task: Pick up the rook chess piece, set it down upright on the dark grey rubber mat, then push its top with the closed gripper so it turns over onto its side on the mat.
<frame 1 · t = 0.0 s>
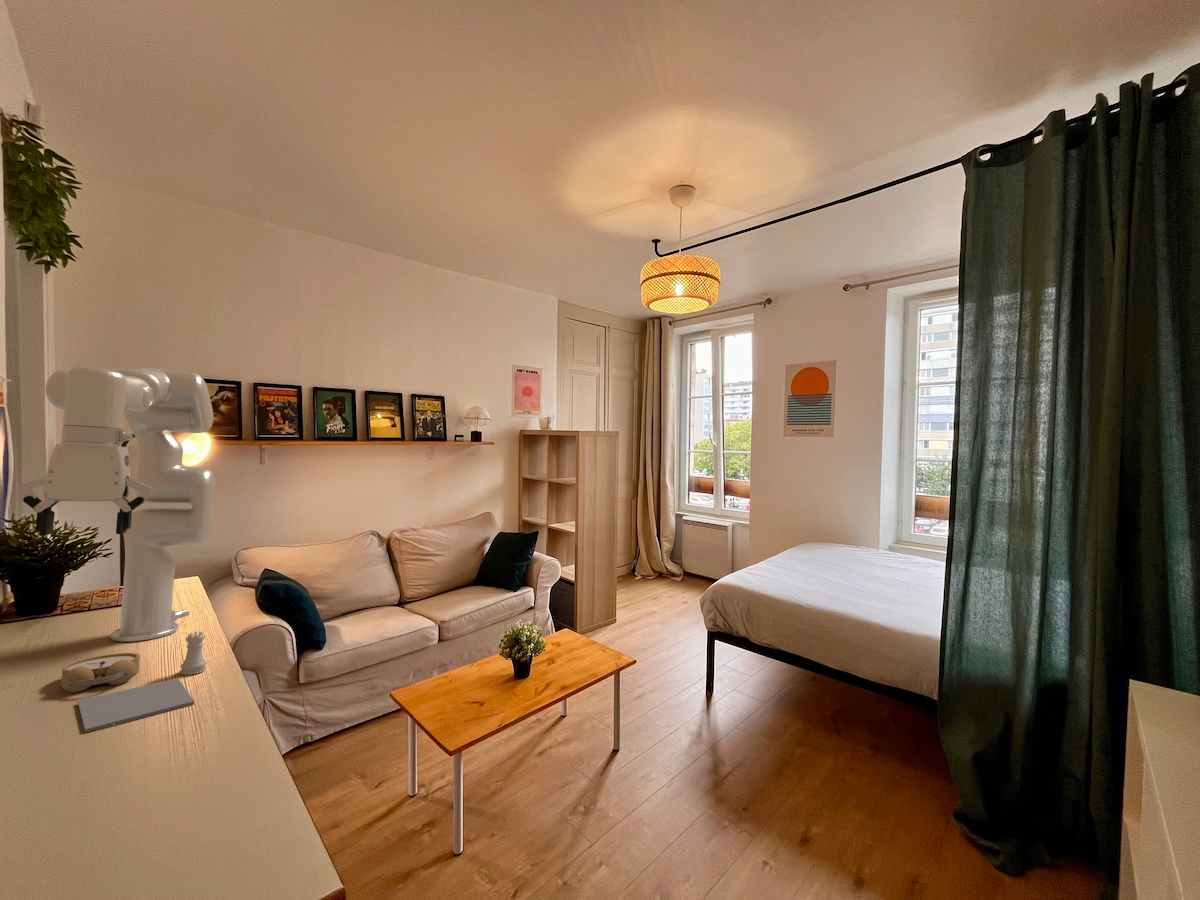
hand: (84, 534, 88), 31 cm above the table, tool pointing down, fingers open, 9 cm apart
alarm clock: (100, 682, 99), on the table
mat: (136, 704, 90), on the table
rook chess piece: (193, 672, 105), on the table
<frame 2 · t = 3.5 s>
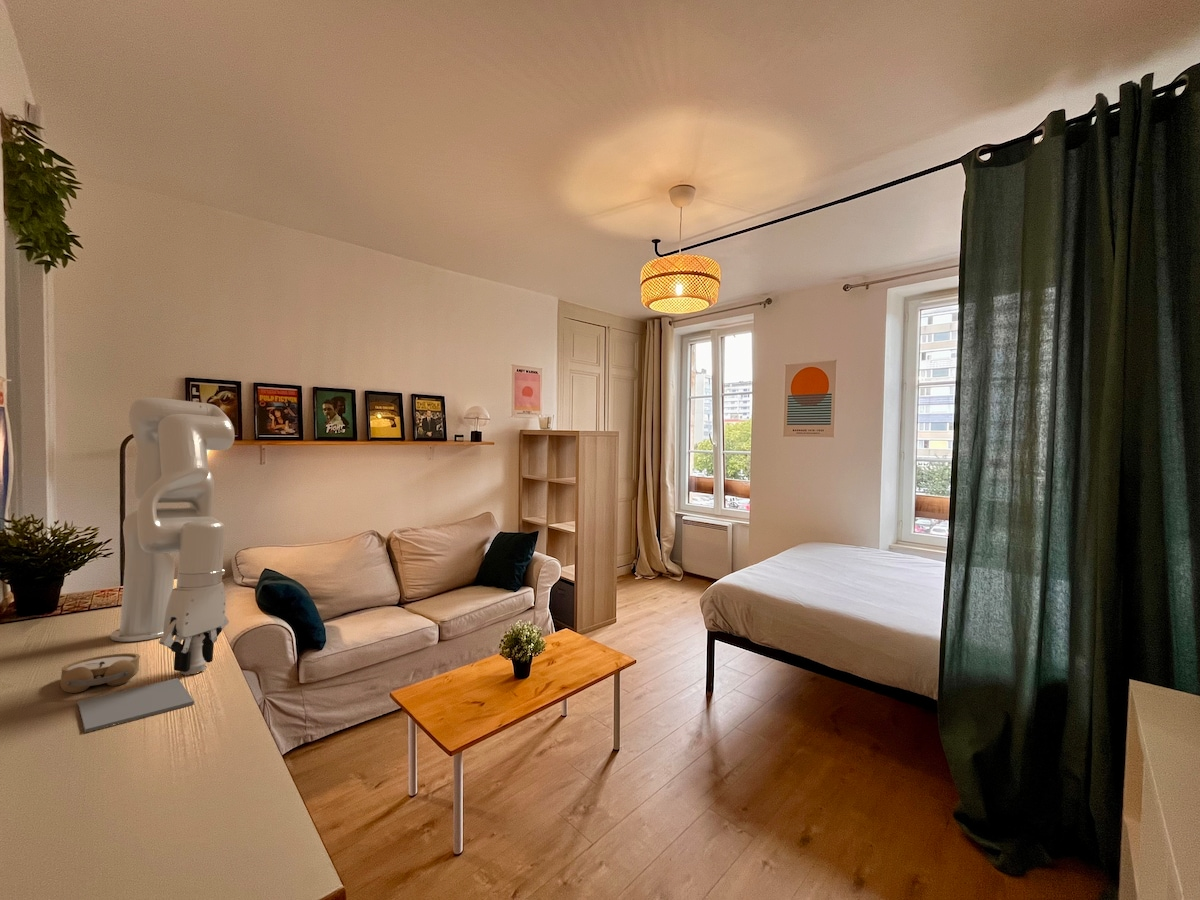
hand: (193, 665, 105), 1 cm above the table, tool pointing down, fingers closed on rook chess piece, 4 cm apart
rook chess piece: (193, 672, 105), on the table, touching gripper
everything else where it was.
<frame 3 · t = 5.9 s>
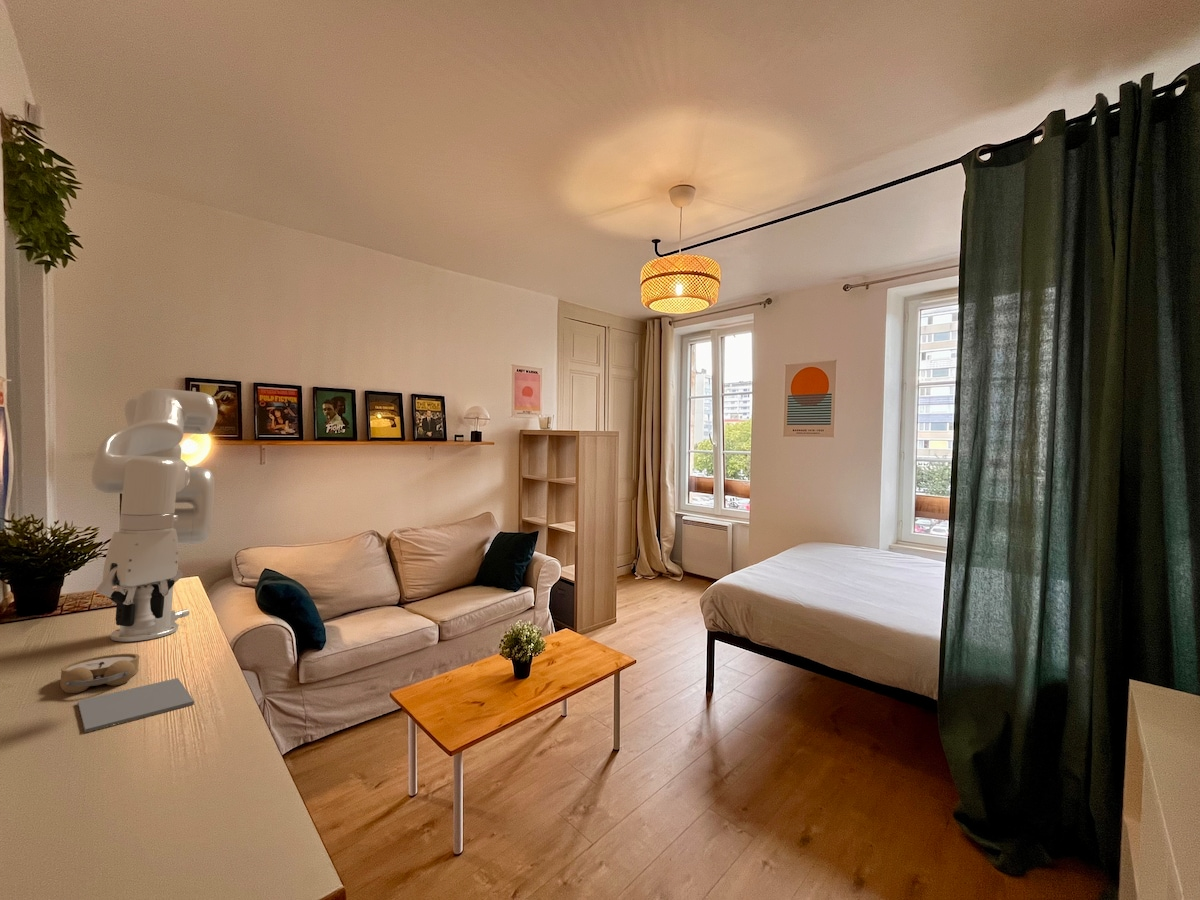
hand: (139, 620, 92), 15 cm above the table, tool pointing down, fingers closed on rook chess piece, 4 cm apart
rook chess piece: (139, 628, 92), point 13 cm above the table, touching gripper
everything else where it was.
when the fingers open (3 cm above the table, at t = 8.3 s): rook chess piece stays where it is, resting on mat.
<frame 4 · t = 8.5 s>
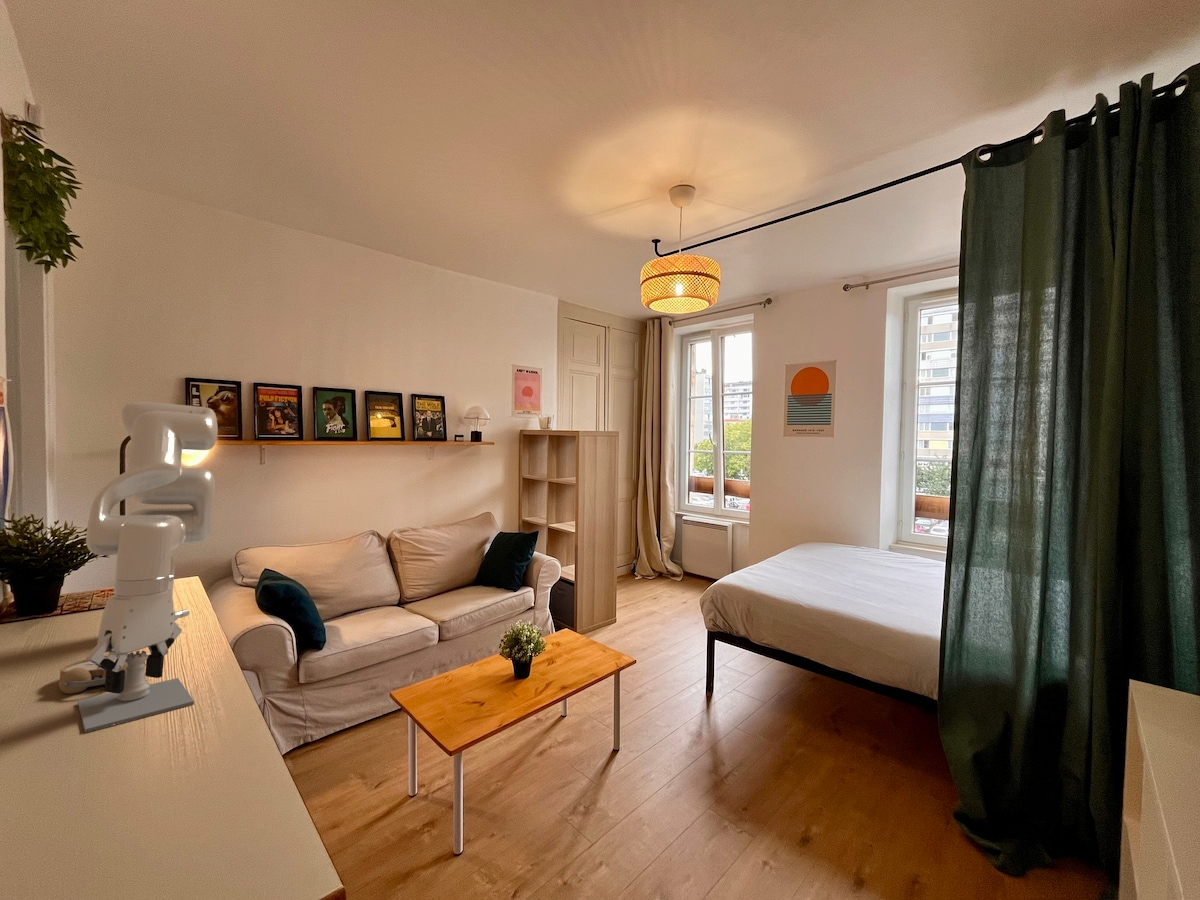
hand: (134, 683, 92), 3 cm above the table, tool pointing down, fingers open, 6 cm apart
rook chess piece: (133, 697, 92), resting on mat
everything else where it was.
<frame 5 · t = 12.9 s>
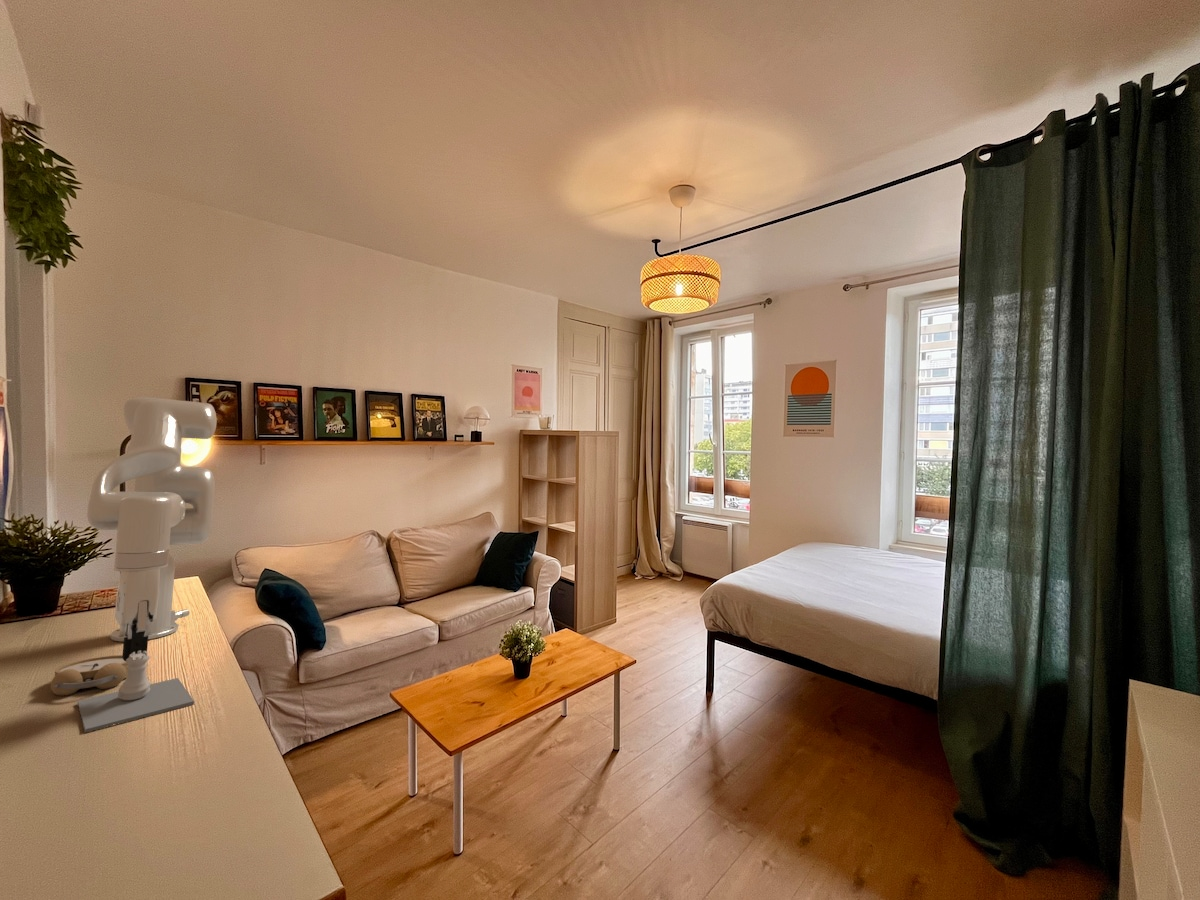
hand: (134, 657, 93), 7 cm above the table, tool pointing down, fingers closed
rook chess piece: (133, 695, 92), point 1 cm above the table, touching gripper, mat
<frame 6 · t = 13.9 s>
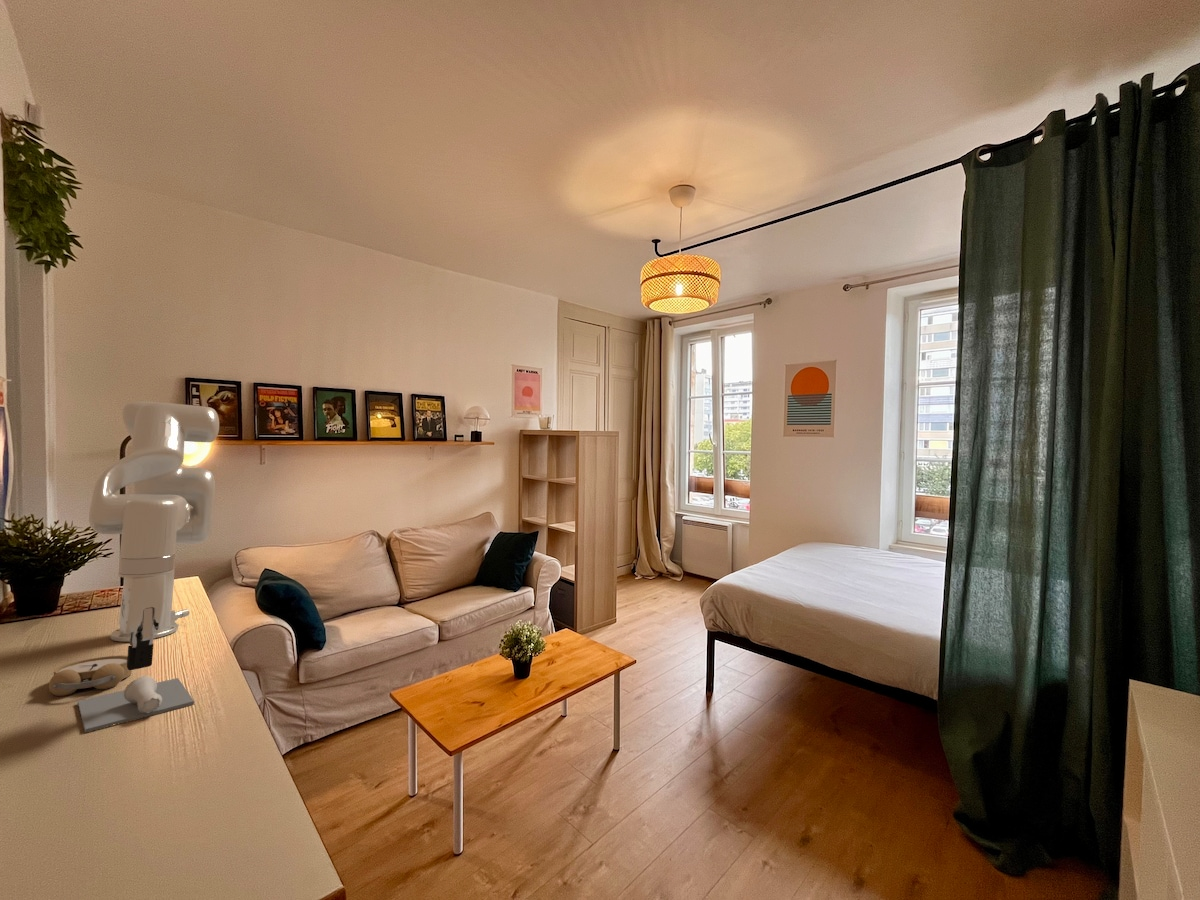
hand: (139, 666, 90), 7 cm above the table, tool pointing down, fingers closed
rook chess piece: (139, 687, 91), point 3 cm above the table, touching mat
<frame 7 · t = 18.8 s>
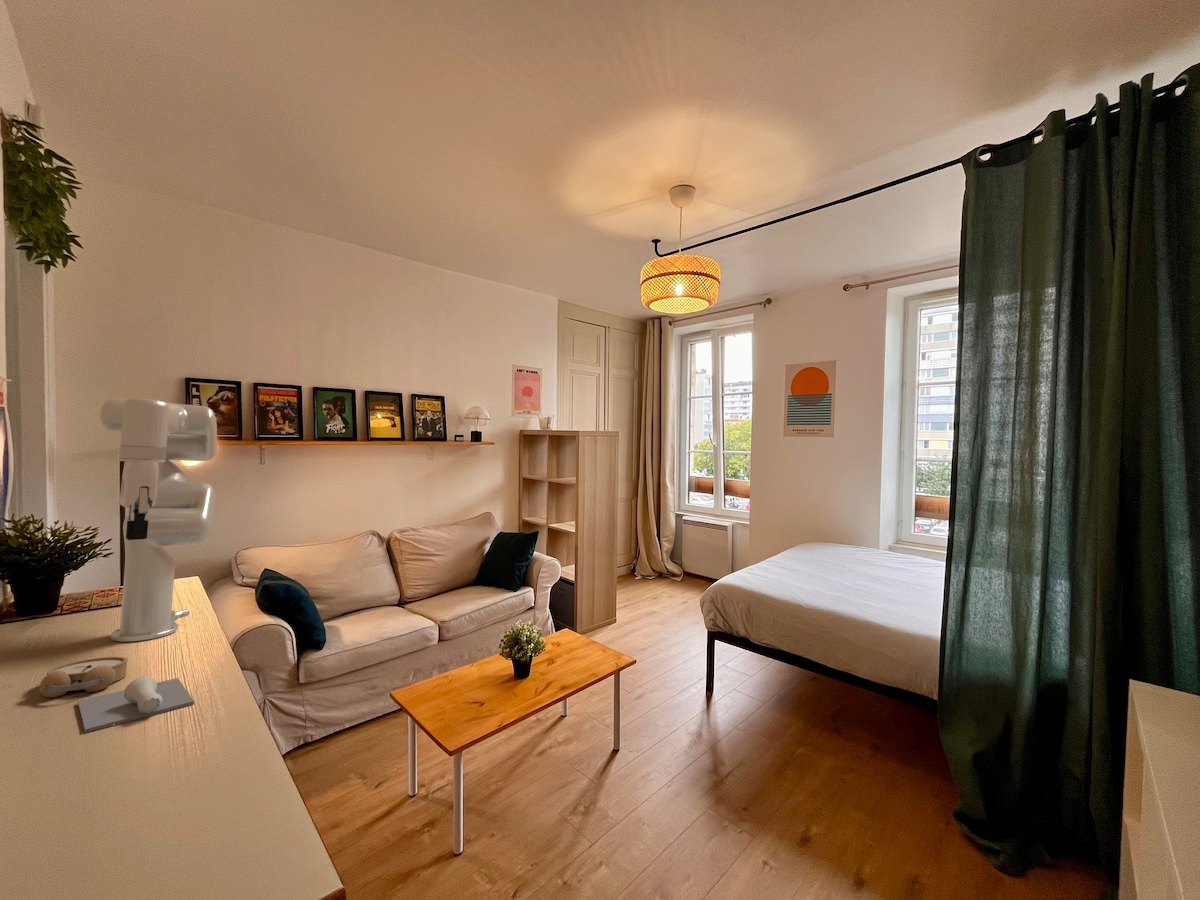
hand: (136, 538, 108), 27 cm above the table, tool pointing down, fingers closed
at the end: rook chess piece tilted 95°; rook chess piece 0.3 cm from the mat (horizontally); the gripper is holding nothing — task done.
